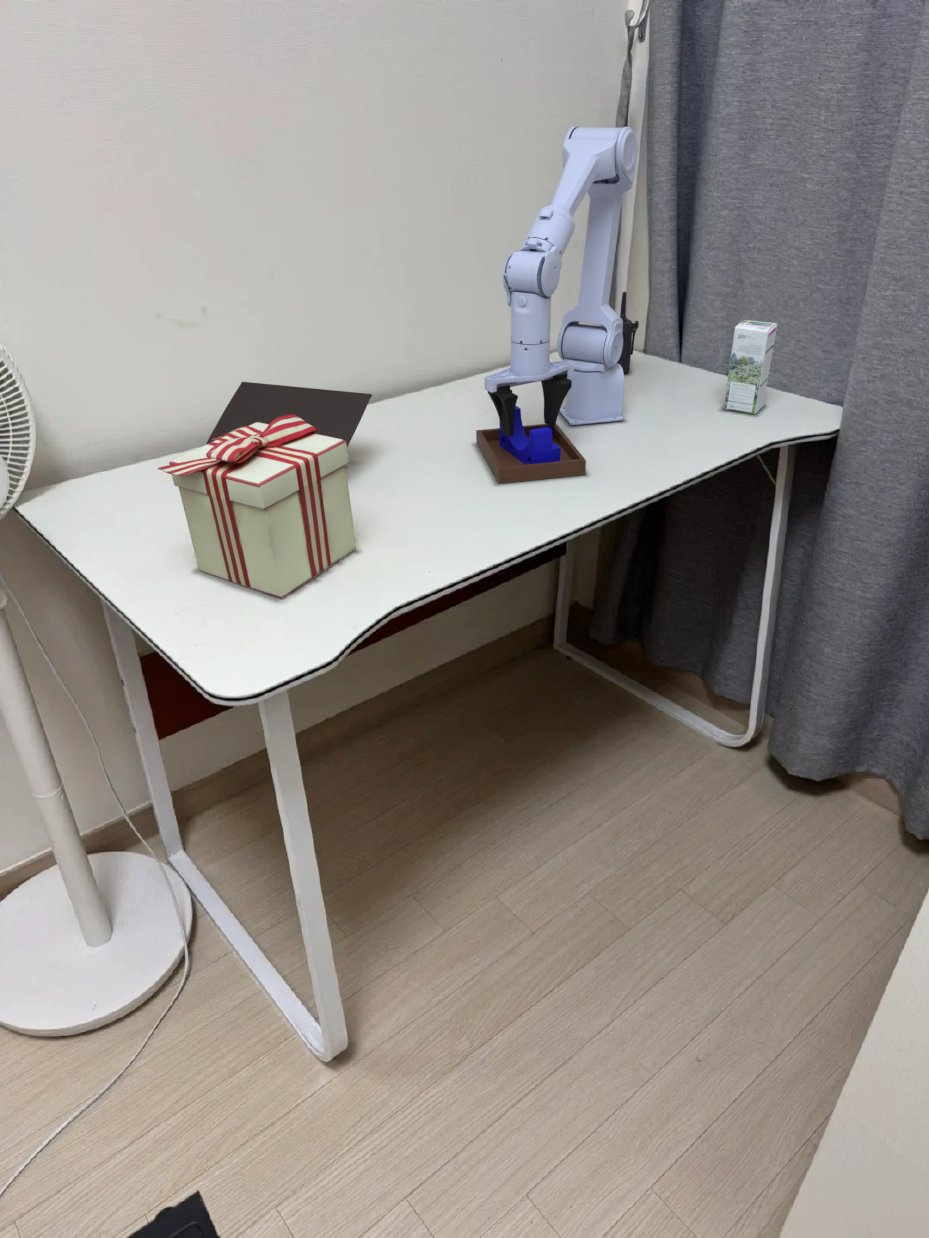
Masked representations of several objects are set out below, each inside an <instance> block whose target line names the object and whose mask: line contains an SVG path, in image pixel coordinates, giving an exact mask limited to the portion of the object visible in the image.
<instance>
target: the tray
mask: <svg viewBox="0 0 929 1238" xmlns="http://www.w3.org/2000/svg"><path fill="white" fill-rule="evenodd" d="M544 427H549V428H550V429H552V442H553V443H555V444H556V445H558V446H559V447H561V450H560V461H556V462H546V463H536V464H526V465H525V464H523V463H522V462H521V461H519V460H518V459H517V458H516V457H514V456H513V455H512V454H510V453H509V452H508V451H507V450H505V449H504V448H503V447H502V446H500V427H496V428H487V429H475V435H476V436H475V437H476V439H475V440H476V441H475V442H476V443H475V444H476V446H477V448H478V449H479V452H480V453H481V455H482V457H483V459H484V460H485V462H486V464H487V466H488V468H489V470H490V471H491V473H492V475H493V477H494V479H495V481H496V482H497V484H498V485H502V484H503V485H504V484H511V483H520V482H521V483H522V482H533V481H540V480H550V479H558V478H559V479H560V478H570V477H579V476H585V475H586V470H587V469H586V468H587V460H586V458H585V457H584V456H583V454H582V453H581V452H580V451H579V450H578V448H577V447H576V446H575V445H574V443H573V442H572V441H571V439H570V438H569V437H568V436H567V435H566V433H565V432H564V431H563V429H561V427H560V426H559V424H557V423H556V424H555V426H553V427H551V426H549V425H547V424H546V423H539V424H530V425H529V424H528V425H527V424H526V425H523V428H524V431H525V434H526V436H527V438H528V440H529V433H530V430H533V429H538V428H544Z"/></svg>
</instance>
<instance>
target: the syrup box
mask: <svg viewBox="0 0 929 1238" xmlns="http://www.w3.org/2000/svg"><path fill="white" fill-rule="evenodd" d="M777 329H778V323H776V322H769V321H768V322H767V321H758V320H749V319H743V320H742V321H740V322H739V323H738V324H737V325H735V326H734V332H733V339H732V347H731V353H730V360H729V367H728V375H727V382H726V389H725V397H724V403H723V410H726V411H730V412H737V413H743V414H750V415H756V414H757V413H758V412H759V411H760V410H761V409H762V408H763V407H764V405H765V401H766V394H767V388H768V380H769V376H770V375H769V374H770V370H771V364H772V363H771V362H772V357H773V352H774V346H775V342H776V341H775V340H776V334H777Z"/></svg>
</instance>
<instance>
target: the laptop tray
mask: <svg viewBox="0 0 929 1238" xmlns="http://www.w3.org/2000/svg"><path fill="white" fill-rule="evenodd" d="M372 397H373V394H372V393H366V392H354V391H344V390H333V389H324V388H313V387H312V388H311V387H302V386H293V385H292V386H291V385H281V384H270V383H260V382H252V381H251V382H249V381H241V383H240V384H239V385H238V387H237V389H236V391H235V392H234V394H233V395H232V397H231V398H230V400H229V402H228V403H227V406H226V407H225V409H224V410H223V412H222V414H221V416H220V418H219V419H218V421H217V423H216V424H215V426H214V428H213V430H212V432H211V434H210V435H209V437H208V439H207V441H206V443H205V445H207V444H209V443H211V442H213V441H215V440H212V439H214V438H217V437H221V436H222V435H224V434H227V433H229V432H231V431H233V430H236V429H238V428H241V427H244V426H249V425H251V424H253V423H256V422H259V423H265V424H270V423H271V422H272V421H274V420H275V419H277V418H278V417H282V416H286V415H291V414H293V415H296V416H298V417H300V418H301V419H302V420H304V421H305V422H307V423H308V424H310V425H311V426H313V427H314V428H316V429H317V430H318V431H317V432H315V434H319V435H324V436H329V437H333V438H338V439H343V440H345V441H346V445H347V448H348V447H349V445H350V443H351V441H352V439H353V437H354V435H355V433H356V431H357V429H358V427H359V424H360V422H361V420H362V418H363V416H364V413H365V412H366V409H367V406H368V404H369V402H370V400H371V398H372Z"/></svg>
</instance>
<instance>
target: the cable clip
mask: <svg viewBox="0 0 929 1238" xmlns="http://www.w3.org/2000/svg"><path fill="white" fill-rule="evenodd" d="M498 423H499V428H500V446H502V447H503V448H504V449H505V450H507V451H508V452H509V453H510V454H512V455H513V456H514V457H516V458H517V459H518V460H519V461H521V462H522V463H523V464H525V465H526V464H536V463H546V462H556V461H560V450H561V447H559V446H558V445H556V444H555V443H553V442H552V429H550V428H549V427H544V428H538V429H533V430H530V433H529V440H528V438H527V436H526V434H525V431H524V428H523V426H524V424H523V421H522V409H521V407H519V406H517V405H516V406H515V413H514V433H513V436H507V435H506V434H504V433H503V432H502V427H501V423H500V419H499V421H498Z"/></svg>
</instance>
